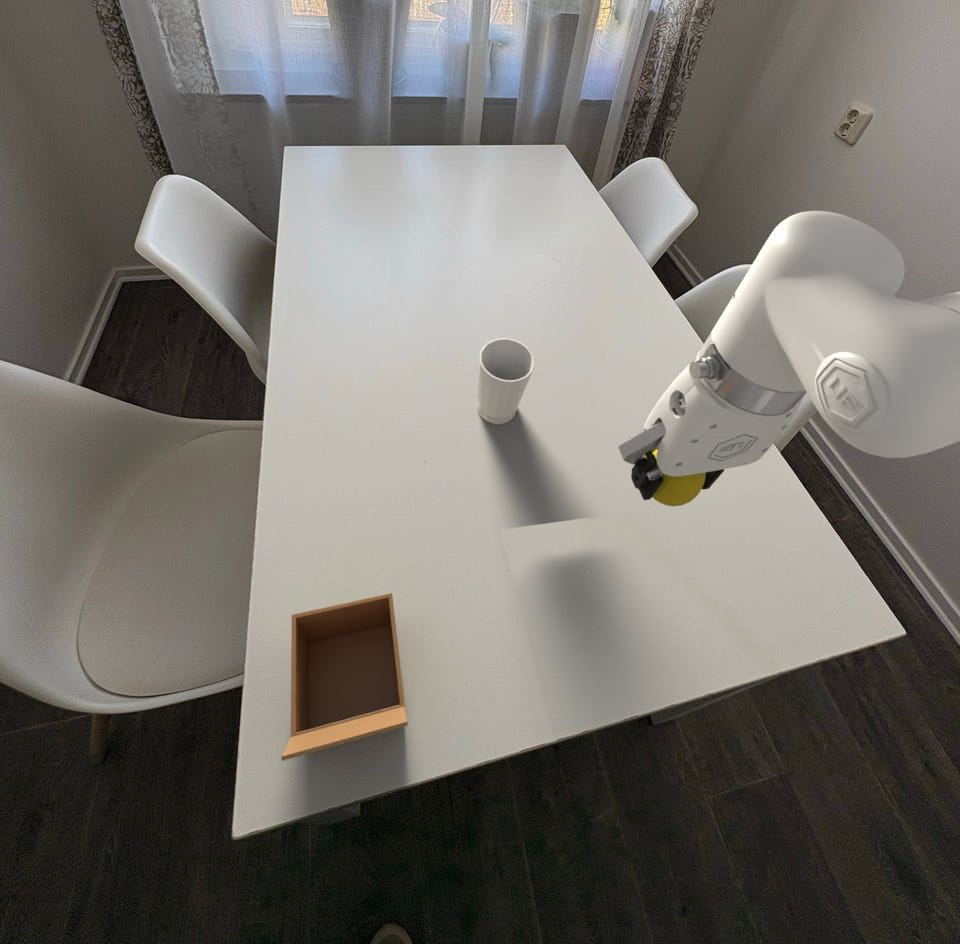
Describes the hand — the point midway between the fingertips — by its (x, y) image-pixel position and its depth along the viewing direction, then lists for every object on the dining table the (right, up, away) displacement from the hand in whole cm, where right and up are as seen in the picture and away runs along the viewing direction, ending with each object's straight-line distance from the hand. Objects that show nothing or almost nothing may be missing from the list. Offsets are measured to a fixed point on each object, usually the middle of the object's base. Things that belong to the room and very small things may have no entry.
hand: (669, 479), depth 52 cm
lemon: (0, -2, +2) cm, 3 cm away
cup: (-16, +1, +32) cm, 36 cm away
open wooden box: (-32, -23, +5) cm, 40 cm away
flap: (-30, -18, -8) cm, 36 cm away
